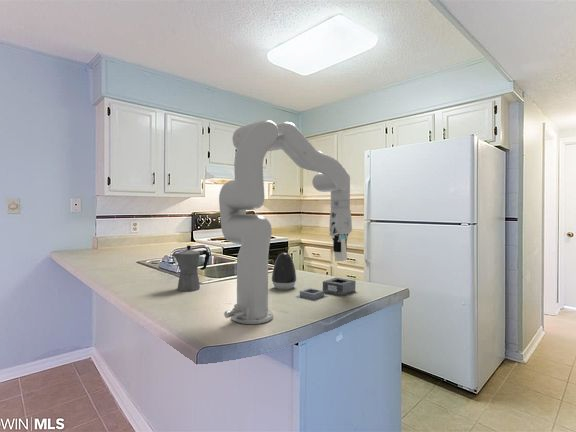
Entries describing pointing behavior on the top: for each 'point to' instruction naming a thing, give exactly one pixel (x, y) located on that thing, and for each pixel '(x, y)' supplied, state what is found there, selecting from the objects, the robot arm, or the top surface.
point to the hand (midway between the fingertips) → (340, 250)
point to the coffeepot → (189, 268)
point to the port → (339, 286)
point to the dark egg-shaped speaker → (284, 272)
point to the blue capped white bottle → (343, 254)
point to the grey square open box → (312, 294)
